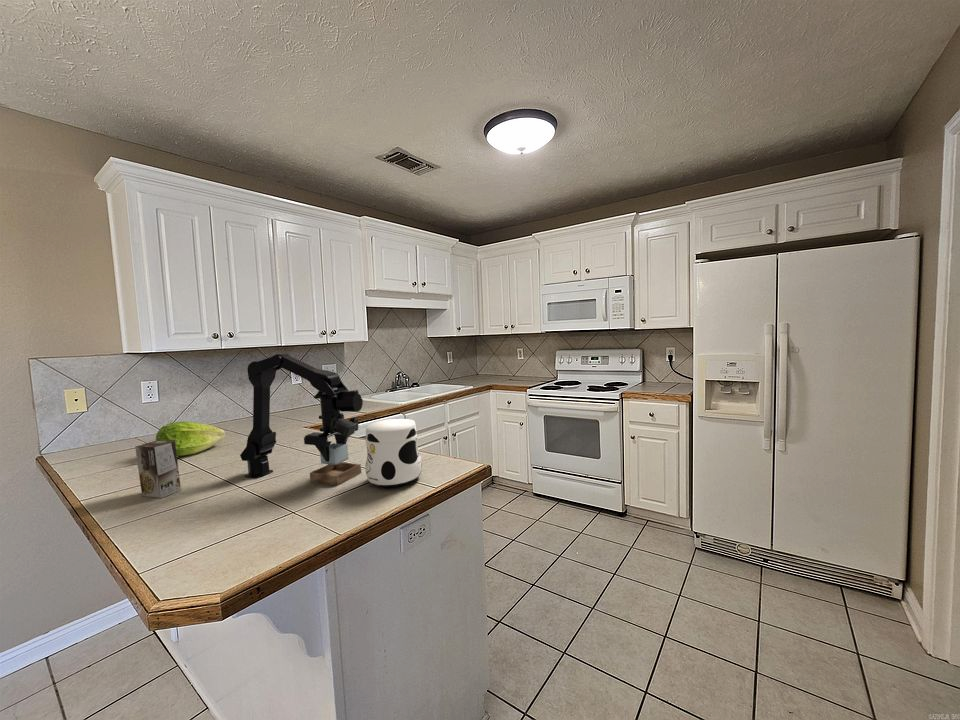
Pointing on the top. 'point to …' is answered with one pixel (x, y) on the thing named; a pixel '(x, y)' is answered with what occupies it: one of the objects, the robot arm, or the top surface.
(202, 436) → the lettuce
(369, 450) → the milk container
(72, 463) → the top surface
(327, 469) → the brown wooden tray
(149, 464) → the coffee box
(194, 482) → the top surface
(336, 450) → the small crate
